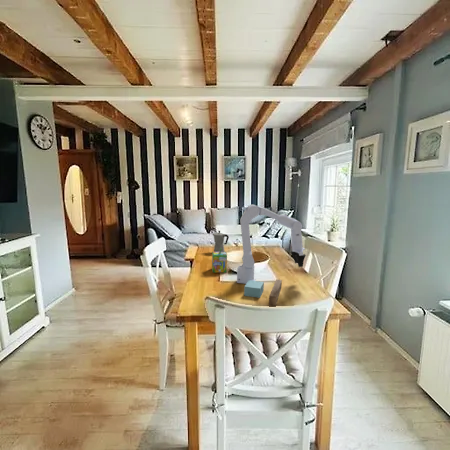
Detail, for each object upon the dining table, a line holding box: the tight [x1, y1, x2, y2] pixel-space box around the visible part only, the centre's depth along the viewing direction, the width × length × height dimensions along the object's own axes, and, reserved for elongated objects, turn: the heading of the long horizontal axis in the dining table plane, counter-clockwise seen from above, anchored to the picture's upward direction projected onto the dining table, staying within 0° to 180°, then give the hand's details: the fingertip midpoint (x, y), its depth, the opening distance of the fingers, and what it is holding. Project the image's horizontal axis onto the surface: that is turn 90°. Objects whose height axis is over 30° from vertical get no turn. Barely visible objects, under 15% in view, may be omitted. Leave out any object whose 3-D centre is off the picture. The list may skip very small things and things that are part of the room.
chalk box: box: [211, 249, 228, 274], centre depth 177 cm, size 9×9×15 cm
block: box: [243, 280, 265, 299], centre depth 142 cm, size 8×10×5 cm
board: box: [268, 279, 283, 307], centre depth 139 cm, size 3×24×4 cm, turn 162°
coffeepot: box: [212, 230, 229, 252], centre depth 225 cm, size 15×9×18 cm, turn 59°
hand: (298, 264), depth 157 cm, fingers open, 7 cm apart
